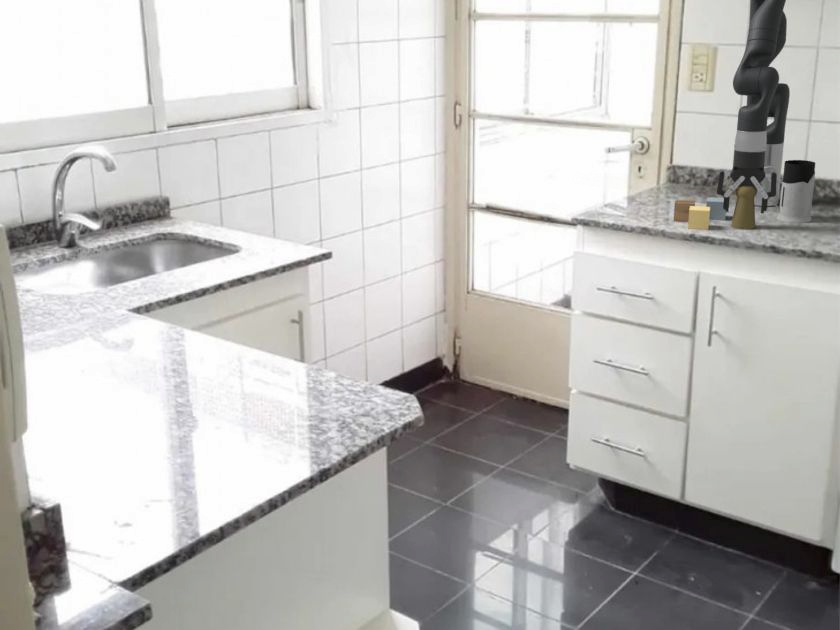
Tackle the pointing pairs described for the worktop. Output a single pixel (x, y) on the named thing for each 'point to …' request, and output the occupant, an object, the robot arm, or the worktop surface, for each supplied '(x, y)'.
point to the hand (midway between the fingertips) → (744, 212)
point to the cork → (744, 208)
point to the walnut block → (682, 210)
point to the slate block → (716, 208)
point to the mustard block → (699, 217)
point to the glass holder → (796, 191)
